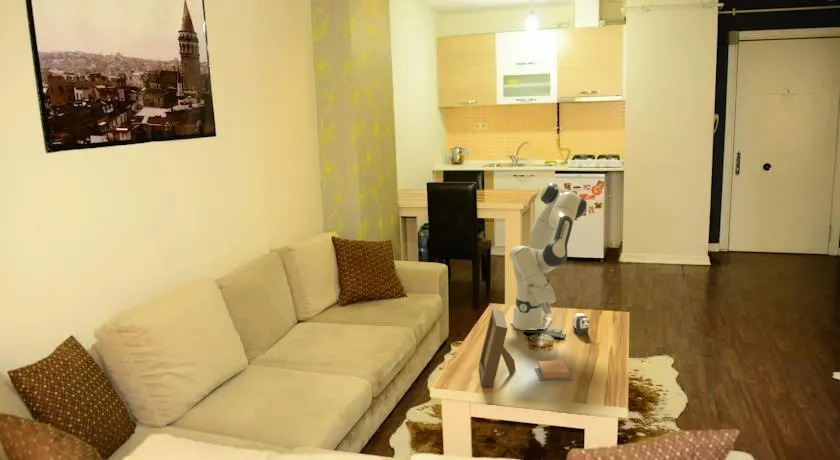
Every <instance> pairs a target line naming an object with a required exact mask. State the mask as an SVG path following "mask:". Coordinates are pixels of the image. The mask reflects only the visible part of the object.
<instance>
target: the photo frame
mask: <svg viewBox="0 0 840 460" xmlns="http://www.w3.org/2000/svg"><path fill="white" fill-rule="evenodd" d="M489 317H490V318H489V320H488V321H489V322H488V326H487V329H486V333H485V338H484V342H483V346H482V349H481V354H480V358H479V361H478V362H479V364H478V367H479V374H480V375H479V376H480V381H481V386H484V387H488V388H494V385H495V380H496V376H497V372H498V368H499V364H500V361H501V356H502V358H503V361H504V363H505V365H506V368H507V370H508V373H509V375H512V374H513V373H514V372H516V362H515V359H514V358H513V356H512V355H511V354H510V352H509V351H508V350H507V348H506V347H505V345H504V344H505V341H506V336H507V333H508V325H507V321H506V318H505V314H504V311H503V310H500V309H499V310H498V309H495V308H492V309H491V313H490V316H489Z"/></svg>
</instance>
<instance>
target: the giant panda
mask: <svg viewBox="0 0 840 460" xmlns="http://www.w3.org/2000/svg"><path fill="white" fill-rule="evenodd" d="M571 323H572V326H573V331H574V332H576V335H577V336H582V332H583V335H585V336H588V335H589V327H590V321H589V319H588V317H587V316H586V315H585V314H584V313H581V312H579V313H574V315H573V316H572V322H571Z"/></svg>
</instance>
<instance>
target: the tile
mask: <svg viewBox="0 0 840 460" xmlns="http://www.w3.org/2000/svg"><path fill="white" fill-rule="evenodd" d="M566 367H567V366H566V364H565V363H564V361H563V360H561V359H559V360H538V361H537V368H539V370H540V372H541V374H542V376H543V379H544V378H569V373H570V371H569V369H568V368H566ZM567 369H568V370H567Z"/></svg>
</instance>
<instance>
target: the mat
mask: <svg viewBox="0 0 840 460" xmlns="http://www.w3.org/2000/svg"><path fill="white" fill-rule="evenodd" d="M566 368H567V366H566ZM567 370H568V371H569V369H568V368H567ZM534 371H535V373H536V375H537V377H538V379H539V381H540V382H546V381H547V382H548V381H549V382H550V381H551V382H553V381H570V380H571V381H572V380H574V378H573V376H572V374H571V373H570V372H569V378H544V379H543V376H542V374H541V372H540V370H539V368H538V367H536V368H534Z"/></svg>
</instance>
